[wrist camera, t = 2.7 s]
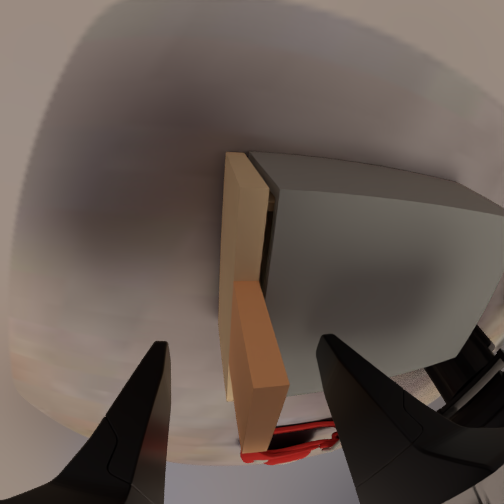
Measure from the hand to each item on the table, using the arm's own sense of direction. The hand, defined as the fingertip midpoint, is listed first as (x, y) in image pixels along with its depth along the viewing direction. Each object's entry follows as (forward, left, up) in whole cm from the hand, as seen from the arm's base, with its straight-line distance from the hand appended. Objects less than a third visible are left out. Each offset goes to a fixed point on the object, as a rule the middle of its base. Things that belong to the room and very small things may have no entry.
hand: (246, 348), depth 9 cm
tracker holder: (-17, -20, -8) cm, 27 cm away
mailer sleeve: (+4, -7, -7) cm, 10 cm away
